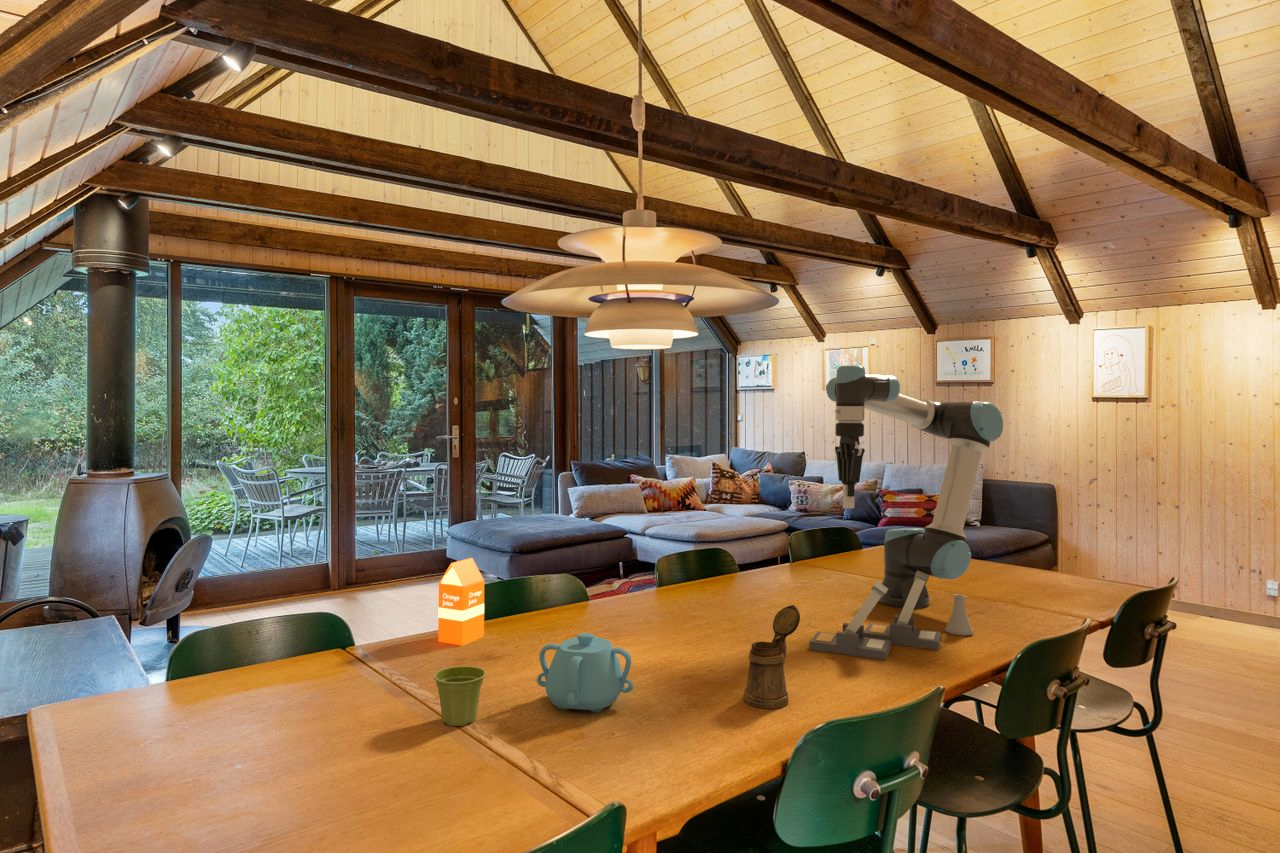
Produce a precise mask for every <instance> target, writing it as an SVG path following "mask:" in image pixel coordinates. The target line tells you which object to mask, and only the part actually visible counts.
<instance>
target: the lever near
mask: <svg viewBox="0 0 1280 853" xmlns="http://www.w3.org/2000/svg"><path fill="white" fill-rule="evenodd" d="M887 590H888V588H887V587H885V586H884V585H882V582H880V581H878V580H876V581H875V583H874V584H873V586H872V588H871V592H870V593H869V595H868V596H867V598H866V599H865V601H864V602H863V603H862V605H861V606H860V608H859V609H858V610H857V612H856V613H855V615H854V616H853V617H852V619H851V620H850V622H848V623H849V625H848V626H847V628H846V629H845V631H844V632H848V633H856V632H857V630H858V629H859V628H860V626H861V625H863V623H864V622H865V620H866V619H867V617H869V615H870V613H872V611H873V609H874V607H875V606H876V605H877V603H879V599H880V598H881V597H882V598H883V597H884V595H885V594H886V592H887Z"/></svg>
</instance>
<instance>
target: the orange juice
mask: <svg viewBox="0 0 1280 853" xmlns="http://www.w3.org/2000/svg"><path fill="white" fill-rule="evenodd" d="M483 577H484V576H482V574H481V571H480V570H479V568H478V566H477V564H476V562H475V561H474V558H473V557H469V558H464V559H461V560H457V561H454V562H450V564H449V566H448V568H447V569H446V571H445V572H444V575H443V576H442V578H441V579H440V581H439V582H438V607H437V608H438V612H437V613H438V614H437V616H438V620H437V621H438V622H437V624H438V627H437V628H438V630H437V631H438V632H437V637H438V638H437V639H438V640H437V641H438V642H439V643H446V644H452V645H456V646H457V645H458V646H463V647H464V646H465V645H468V644H470V643H471V642H474V641H477V640H480V639H481V638H483V637H484V635H485V579H484V578H483Z"/></svg>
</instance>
